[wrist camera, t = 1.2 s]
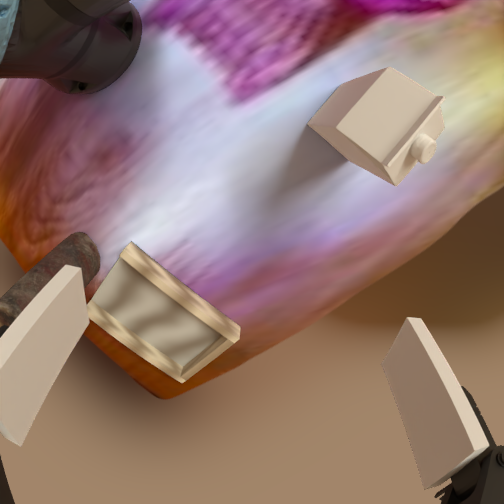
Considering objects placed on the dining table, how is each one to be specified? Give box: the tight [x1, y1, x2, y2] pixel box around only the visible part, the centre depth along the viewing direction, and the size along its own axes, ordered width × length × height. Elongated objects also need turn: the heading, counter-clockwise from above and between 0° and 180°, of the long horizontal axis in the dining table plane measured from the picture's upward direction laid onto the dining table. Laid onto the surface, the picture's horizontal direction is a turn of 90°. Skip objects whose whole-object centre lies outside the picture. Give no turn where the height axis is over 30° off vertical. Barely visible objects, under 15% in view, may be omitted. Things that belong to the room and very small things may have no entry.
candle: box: [0, 232, 100, 327], centre depth 34 cm, size 8×7×20 cm
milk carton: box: [307, 67, 445, 186], centre depth 26 cm, size 7×7×19 cm
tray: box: [87, 241, 241, 383], centre depth 46 cm, size 21×15×3 cm
